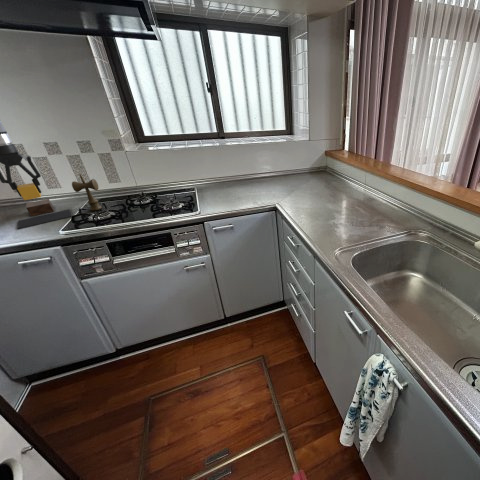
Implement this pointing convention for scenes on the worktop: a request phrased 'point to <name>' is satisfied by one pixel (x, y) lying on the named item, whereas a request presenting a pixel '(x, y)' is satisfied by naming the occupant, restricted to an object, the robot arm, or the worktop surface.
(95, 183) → the kendama
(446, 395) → the worktop surface
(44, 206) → the walnut block
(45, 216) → the rubber mat
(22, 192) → the mustard cube
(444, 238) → the worktop surface
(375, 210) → the worktop surface
